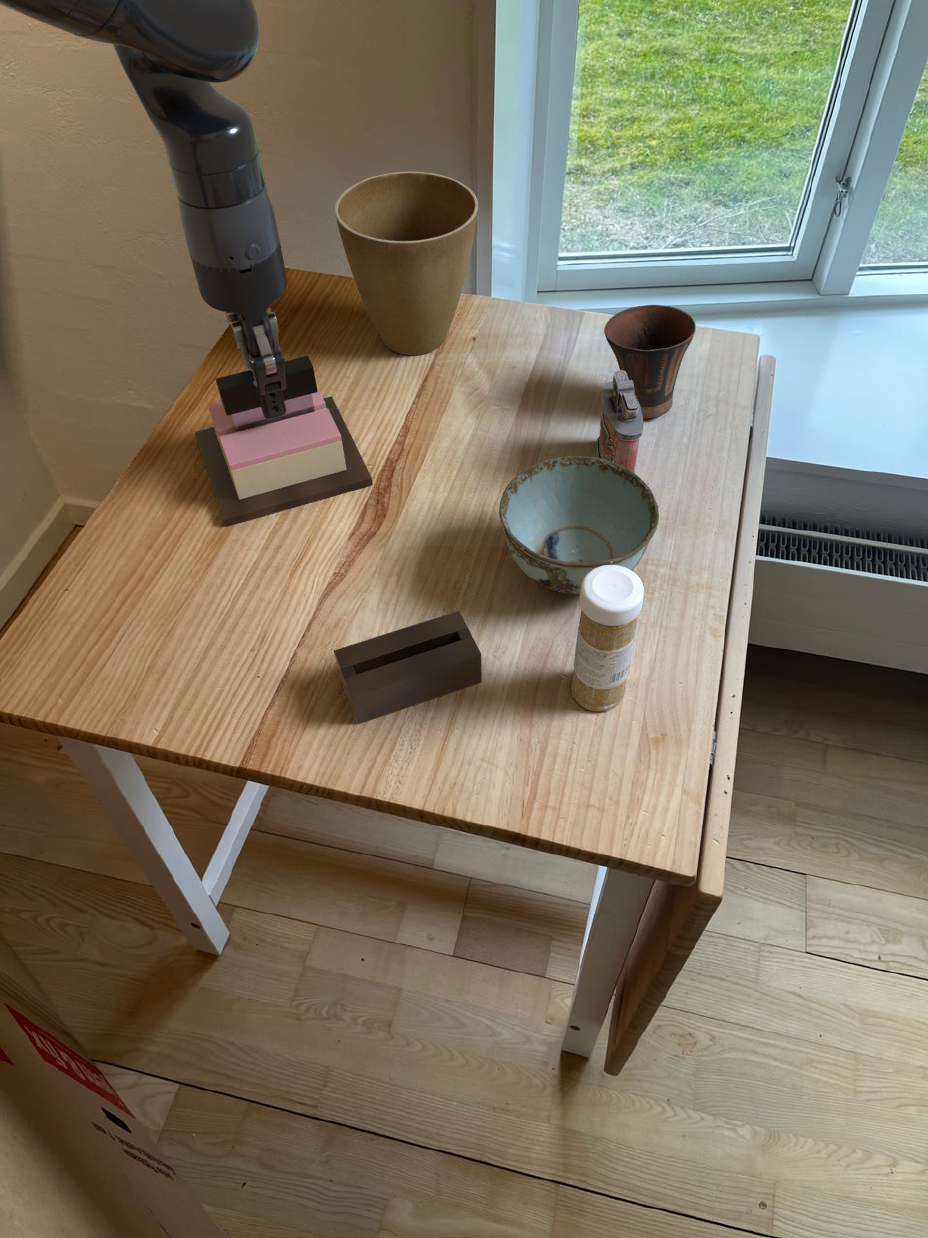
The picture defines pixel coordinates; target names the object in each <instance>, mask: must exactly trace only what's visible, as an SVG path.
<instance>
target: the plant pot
mask: <svg viewBox="0 0 928 1238" xmlns="http://www.w3.org/2000/svg"><path fill="white" fill-rule="evenodd" d="M478 211H479V202H478V198H477V196H476V194H475V193H474V192H473V191H472V189H471V188H470V187H469V186H467V185H466V184H464V183H462V182H461V181H459V180H456V179H454V178H452V177H449V176H445V175H442V174H439V173H434V172H426V171H396V172H389V173H384V174H383V173H382V174H379V175H373V176H371V177H368V178H365V179H362V180H360V181H359V182H356V183H354V184H353V185H351V186H350V187H347V189H345V190H344V191H343V192H342V193H341V194H340V195H339V196H338V198H337V200H336V202H335V204H334V215H335V216H334V217H335V219H336V223H337V227H338V231H339V232H338V233H339V236H340V239H341V243H342V246H343V250H344V253H345V256H346V259H347V262H348V266H349V268H350V271H351V274H352V276H353V280H354V282H355V285H356V287H357V290H358V292H359V295H360V296H361V300H362V302H363V305H364V306H365V309H366V311H367V313H368V315H369V318H370V319H371V321H372V323H373V326H374V328H375V329H376V331H377V333H378V335H379V337H380V338H381V340H382V342H383V344H384V345H385V347H387V348H388V349H389V350H391V351H392V352H395V353H398V354H400V355H407V356H418V355H419V356H420V355H424V354H428V353H431V352H434V351H435V350H437V349H439V348H440V347H441V346H442V345H443V344H444V342H445V341H446V338H447V336H448V333H449V330H450V328H451V326H452V323H453V320H454V317H455V315H456V312H457V308H458V306H459V302H460V299H461V296H462V293H463V289H464V286H465V281H466V278H467V273H468V270H469V266H470V261H471V254H472V250H473V245H474V237H475V230H476V224H477V217H478Z"/></svg>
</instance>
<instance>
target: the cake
mask: <svg viewBox="0 0 928 1238" xmlns="http://www.w3.org/2000/svg"><path fill="white" fill-rule="evenodd" d="M219 439H220V442H221V445H222V449H223V452H224V456H225V459H226V463H227V466H228V469H229V473H230V475H231V478H232V481H233V484H234V487H235V490H236V492H237V495H238V498H239V500H241V499H244V498H248V497H251V496H255V495H258V494H262V493H266V492H269V491H273V490H276V489H280V488H283V487H287V486H291V485H294V484H298V483H301V482H305V481H308V480H312V479H316V478H319V477H323V476H326V475H330V474H333V473H337V472H341V471H344V470H346V464H345V458H344V452H343V445H342V439H341V435H340V432H339V430H338V428H337V426H336V424H335V422H334V420H333V418H332V416H331V414H330V412H329V410H328V408H327V409H323V410H319V411H315V412H312V413H308V414H304V415H300V416H296V417H293V418H289V419H285V420H281V421H278V422H274V423H270V424H266V425H262V426H259V427H255V428H251V429H247V430H243V431H240V432H236V433H232V434H228V435H225V436H221V437H219Z"/></svg>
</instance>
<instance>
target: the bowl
mask: <svg viewBox="0 0 928 1238" xmlns="http://www.w3.org/2000/svg"><path fill="white" fill-rule="evenodd" d="M498 514H499V520H500V523H501V525H502V528H503V533H504V538H505V541H506V544H507V547H508V550H509V552H510V555H511V557H512V558H513V560H514V561H515V563H516V564H517V566H518V567H519V568H520V569H521V571H522V572H523V573H524V574H525V575H526V576H527V577H528V578H530V579H531V580H532V581H533V582H535V583H536V584H539V585H540V586H542V587H545V588H546V589H549V590H552V591H554V592H557V593H562V594H567V595H580V591H581V585H582V581H583V579H584V577H585V576H586V575H587V574H588V573H589V572H590V571H591V570H593V569H595V568H597V567H600V566H604V565H618V566H622V567H625V568H628V569H629V570H631V571H633V570H634V569H635V568H636V567H637V566H638V564H639V563H640V561H641V560H642V558H643V556H644V555H645V553H646V551H647V549H648V546H649V544H650V542H651V540H652V538H653V537H654V535H655V533H656V532H657V528H658V526H659V520H660V512H659V506H658V503H657V500H656V498H655V495H654V493H653V491H652V490H651V488H650V487H649V486H648V484H647V483H646V482H645V481H644V480H643V479H642V478H641V477H640V476H639V475H637V474H636V473H635V474H634V473H633V472H631V471H630V470H629V469H627V468H625V467H623V466H621V465H618V464H616V463H614V462H611V461H607V460H604V459H601V458H597V457H594V456H584V455H565V456H558V457H553V458H552V457H551V458H549V459H545V460H542V461H539V462H536V463H534V464H532V465H530V466H528V467H525V468H524V469H523V470H521V471H520V472H518V473H517V474H516V475H515V476H514V477H513V478H512V479H511V480H510V481H509V483H508V484H507V485H506V487H505V489H504V490H503V492H502V495H501V498H500V501H499V509H498Z"/></svg>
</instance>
